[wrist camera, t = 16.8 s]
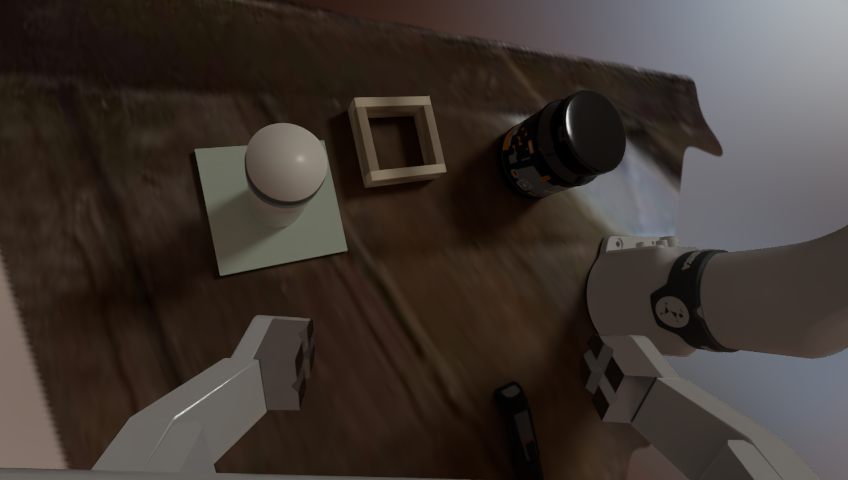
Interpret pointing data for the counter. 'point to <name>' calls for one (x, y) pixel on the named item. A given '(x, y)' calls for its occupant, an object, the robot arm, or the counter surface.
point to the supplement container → (562, 145)
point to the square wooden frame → (425, 130)
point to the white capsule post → (283, 173)
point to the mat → (249, 239)
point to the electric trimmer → (520, 431)
